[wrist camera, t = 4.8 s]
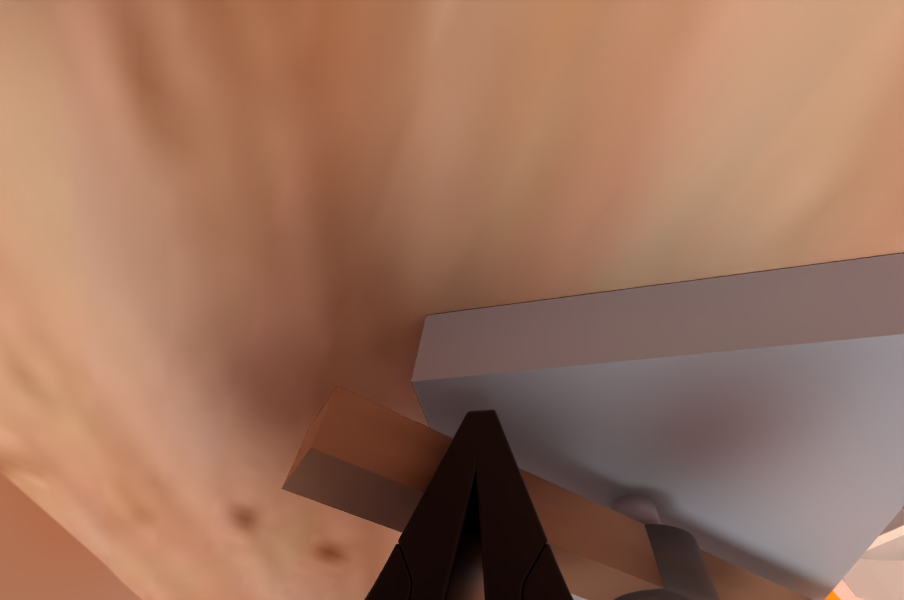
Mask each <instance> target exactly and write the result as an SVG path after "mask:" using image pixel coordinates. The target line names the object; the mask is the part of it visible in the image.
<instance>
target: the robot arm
mask: <svg viewBox="0 0 904 600" xmlns="http://www.w3.org/2000/svg"><path fill="white" fill-rule="evenodd" d="M398 543H399V544H396V545H395V547H394V549H393V551H392V553H391V555H390V557H389V559H388V560H387V562H386V564H385V566H384V568H383V569H382V571H381V573H380V575H379V576H378V578H377V580H376V582H375V583H374V585H373V587H372V588H371V590H370V592H369V593H368V595H367V596H366V598H365V599H364V600H574V599H573V597H572V595H571V593H570V591H569V589H568V587H567V584H566V582H565V580H564V578H563V575H562V573H561V571H560V568H559V566H558V564H557V561H556V559H555V556H554V554H553V551H552V549H551V546H550V545H549V544H548V539H547V537H546V535H545V532H544V530H543V527H542V525H541V522H540V520H539V517H538V515H537V512H536V510H535V507H534V505H533V502H532V500H531V497H530V495H529V492H528V490H527V487H526V485H525V482H524V480H523V477H522V475H521V473H520V470H519V468H518V465H517V463H516V460H515V458H514V455H513V453H512V450H511V448H510V445H509V443H508V440H507V438H506V435H505V433H504V430H503V428H502V425H501V423H500V420H499V418H498V415H497V413H496V411H495V410H494V409H490V410H476V411H469V412H467V414H466V415H465V417H464V419H463V421H462V423H461V424H460V426H459V428H458V430H457V432H456V434H455V436H454V438H453V439H452V441H451V443H450V445H449V447H448V449H447V451H446V452H445V454H444V456H443V458H442V460H441V462H440V464H439V466H438V467H437V469H436V471H435V473H434V475H433V477H432V479H431V480H430V482H429V484H428V486H427V488H426V490H425V492H424V494H423V495H422V497H421V499H420V501H419V503H418V505H417V507H416V508H415V510H414V512H413V514H412V516H411V518H410V520H409V522H408V523H407V525H406V527H405V529H404V531H403V533H402V535H401V536H400V538H399V540H398Z"/></svg>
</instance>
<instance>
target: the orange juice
mask: <svg viewBox="0 0 904 600" xmlns="http://www.w3.org/2000/svg"><path fill="white" fill-rule="evenodd" d="M825 600H841V599H840V598H839V597H838V596H837V595H836V594H835V592H834V591H832V592H831V593H830V594H829V595H828V597H827V598H826V599H825Z"/></svg>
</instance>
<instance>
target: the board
mask: <svg viewBox="0 0 904 600" xmlns="http://www.w3.org/2000/svg"><path fill="white" fill-rule="evenodd" d="M411 383H412V385H413V388H414V390H415V393H416V395H417V398H418V400H419V403H420V405H421V408H422V410H423V413H424V415H425V418H426V420H427V423H428V425H429V428H431V429H433V430H436V431H438V432H440V433H442V434H444V435H447V436H449V437H451V438H454V436H455V434H456V432H457V430H458V428H459V426H460V424H461V423H462V421H463V419H464V417H465V415H466V414H467V412H469V411H476V410H490V409H494V410H495V411H496V413H497V415H498V418H499V420H500V423H501V425H502V428H503V430H504V433H505V435H506V438H507V440H508V443H509V445H510V448H511V450H512V453H513V455H514V458H515V460H516V463H517V465H518V468H520V469H522V470H525V471H527V472H529V473H531V474H534V475H536V476H538V477H540V478H542V479H545V480H547V481H549V482H551V483H554V484H556V485H558V486H560V487H563V488H565V489H567V490H569V491H571V492H574V493H576V494H578V495H580V496H583V497H585V498H587V499H589V500H591V501H594V502H596V503H598V504H600V505H603V506H605V507H607V508H609V509H612V510H614V511H616V512H618V513H620V514H623V515H625V516H627V517H629V518H632V519H634V520H636V521H638V522H641V523H643V524H660V525H668V526H673V527H677V528H680V529H683V530H685V531H687V532H689V533H690V534H692V535H693V536H694V537H695V539H696V541H697V543H698V546H699V548H700V549H701V550H703V551H705V552H707V553H710V554H712V555H714V556H716V557H718V558H721V559H723V560H725V561H727V562H730V563H732V564H734V565H736V566H739V567H741V568H743V569H745V570H747V571H750V572H752V573H754V574H756V575H759V576H761V577H763V578H765V579H767V580H770V581H772V582H774V583H776V584H779V585H781V586H783V587H785V588H788V589H790V590H792V591H794V592H796V593H799V594H801V595H803V596H805V597H808V598H810V599H812V600H825V599H826V598H827V597H828V595H829V594H830V593H831V592H832V591H833V589H834V588H835V587H836V586H837V585H838V584H839V582H840V581H841V580H842V579H843V578H844V576H845V575H846V574H847V573H848V572H849V571H850V569H851V568H852V567H853V566H854V565H855V563H856V562H857V561H858V560H859V559H860V558H861V556H862V555H863V554H864V553H865V552H866V550H867V549H868V548H869V547H870V546H871V544H872V543H873V542H874V541H875V540H876V539H877V537H878V536H879V535H880V534H881V533H882V531H883V530H884V529H885V528H886V527H887V526H888V524H889V523H890V522H891V521H892V520H893V518H894V517H895V516H896V515H897V514H898V513H899V511H900V510H901V509H902V508H903V507H904V253H900V254H893V255H885V256H877V257H870V258H862V259H854V260H847V261H839V262H831V263H824V264H816V265H809V266H801V267H793V268H786V269H778V270H770V271H763V272H755V273H747V274H740V275H732V276H724V277H717V278H709V279H701V280H694V281H686V282H678V283H671V284H663V285H655V286H648V287H640V288H632V289H625V290H617V291H610V292H602V293H594V294H587V295H579V296H571V297H564V298H556V299H548V300H541V301H533V302H525V303H518V304H510V305H502V306H495V307H487V308H479V309H472V310H464V311H456V312H449V313H441V314H433V315H426V318H425V322H424V327H423V331H422V336H421V340H420V344H419V349H418V353H417V358H416V362H415V367H414V371H413V375H412V380H411ZM571 595H572V597H573V599H574V600H587V599H584V598H581V597H579V596H576V595H573V594H571Z"/></svg>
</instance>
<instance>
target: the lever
mask: <svg viewBox="0 0 904 600" xmlns="http://www.w3.org/2000/svg"><path fill="white" fill-rule="evenodd" d="M452 439H453V438H451V437H449V436H447V435H444V434H442V433H440V432H438V431H436V430H433V429H431V428H429V427H427V426H424V425H422V424H420V423H418V422H416V421H413V420H411V419H409V418H407V417H404V416H402V415H400V414H398V413H395V412H393V411H391V410H389V409H387V408H384V407H382V406H380V405H378V404H375V403H373V402H371V401H369V400H367V399H364V398H362V397H360V396H358V395H355V394H353V393H351V392H349V391H346V390H344V389H342V388H340V387H338V386H337V388H336V389H335V391H334V392H333V394H332V395H331V397H330V398H329V400H328V401H327V403H326V404H325V406H324V407H323V409H322V410H321V412H320V413H319V415H318V416H317V418H316V419H315V421H314V422H313V424H312V425H311V427H310V428H309V430H308V433H307V435H306V437H305V439H304V441H303V443H302V446H301V448H300V450H299V452H298V454H297V457H296V459H295V461H294V463H293V465H292V468H291V470H290V472H289V474H288V476H287V479H286V481H285V483H284V485H283V487H282V489H284V490H287V491H289V492H292V493H295V494H298V495H300V496H303V497H306V498H309V499H311V500H314V501H317V502H320V503H322V504H325V505H328V506H331V507H333V508H336V509H339V510H342V511H344V512H347V513H350V514H353V515H355V516H358V517H361V518H364V519H367V520H369V521H372V522H375V523H378V524H380V525H383V526H386V527H389V528H391V529H394V530H397V531H400V532H402V533H403V531H404V529H405V527H406V525H407V523H408V522H409V520H410V518H411V516H412V514H413V512H414V510H415V508H416V507H417V505H418V503H419V501H420V499H421V497H422V495H423V494H424V492H425V490H426V488H427V486H428V484H429V482H430V480H431V479H432V477H433V475H434V473H435V471H436V469H437V467H438V466H439V464H440V462H441V460H442V458H443V456H444V454H445V452H446V451H447V449H448V447H449V445H450V443H451V441H452ZM519 470H520V473H521V475H522V477H523V480H524V482H525V485H526V487H527V490H528V492H529V495H530V497H531V500H532V502H533V505H534V507H535V510H536V512H537V515H538V517H539V520H540V522H541V525H542V527H543V530H544V532H545V535H546V537H547V539H548V544H549V545H550V546H551V549H552V551H553V554H554V556H555V559H556V561H557V564H558V566H559V568H560V571H561V573H562V575H563V578H564V580H565V582H566V584H567V587H568V589H569V591H570V593H571V594H573V595H576V596H579V597H581V598H584V599H587V600H812V599H810V598H808V597H805V596H803V595H801V594H799V593H796V592H794V591H792V590H790V589H788V588H785V587H783V586H781V585H779V584H776V583H774V582H772V581H770V580H767V579H765V578H763V577H761V576H759V575H756V574H754V573H752V572H750V571H747V570H745V569H743V568H741V567H739V566H736V565H734V564H732V563H730V562H727V561H725V560H723V559H721V558H718V557H716V556H714V555H712V554H710V553H707V552H705V551H703V550H701V549H700V548H699V546H698V543H697V541H696V539H695V537H694V536H693V535H692V534H690V533H689V532H687V531H685V530H683V529H680V528H677V527H673V526H668V525H660V524H643V523H641V522H638V521H636V520H634V519H632V518H629V517H627V516H625V515H623V514H620V513H618V512H616V511H614V510H612V509H609V508H607V507H605V506H603V505H600V504H598V503H596V502H594V501H591V500H589V499H587V498H585V497H583V496H580V495H578V494H576V493H574V492H571V491H569V490H567V489H565V488H563V487H560V486H558V485H556V484H554V483H551V482H549V481H547V480H545V479H542V478H540V477H538V476H536V475H534V474H531V473H529V472H527V471H525V470H522V469H520V468H519Z"/></svg>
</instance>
